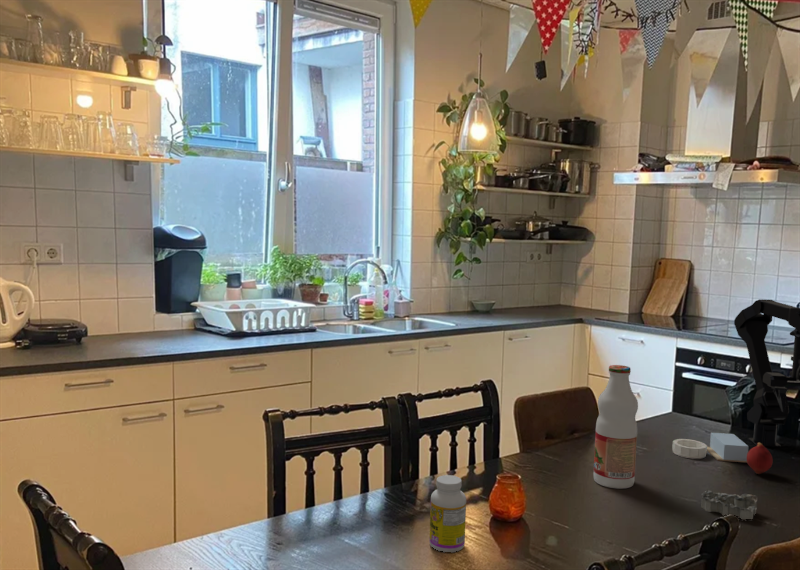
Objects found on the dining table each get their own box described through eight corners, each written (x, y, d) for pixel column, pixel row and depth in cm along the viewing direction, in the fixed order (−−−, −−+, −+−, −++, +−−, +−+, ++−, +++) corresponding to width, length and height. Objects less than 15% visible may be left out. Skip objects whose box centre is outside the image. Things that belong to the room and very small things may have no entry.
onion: (765, 470, 175) (767, 439, 175) (775, 478, 170) (778, 447, 169) (741, 469, 176) (744, 438, 175) (751, 477, 170) (753, 445, 170)
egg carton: (759, 514, 148) (760, 495, 148) (750, 525, 143) (751, 505, 142) (707, 500, 155) (708, 482, 155) (696, 509, 150) (698, 491, 149)
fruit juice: (623, 492, 158) (630, 372, 155) (585, 481, 164) (591, 366, 162) (640, 482, 164) (647, 367, 162) (604, 472, 171) (610, 361, 168)
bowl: (668, 447, 192) (669, 438, 192) (700, 449, 191) (700, 440, 191) (677, 457, 183) (678, 447, 183) (710, 459, 183) (711, 449, 182)
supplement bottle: (427, 538, 132) (429, 472, 131) (461, 537, 132) (463, 472, 131) (431, 554, 125) (433, 486, 124) (467, 554, 126) (470, 485, 125)
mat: (704, 447, 193) (704, 446, 193) (737, 449, 192) (737, 448, 192) (717, 460, 182) (717, 459, 182) (753, 462, 181) (753, 461, 181)
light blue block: (710, 446, 193) (710, 432, 192) (732, 447, 192) (733, 434, 192) (723, 459, 182) (724, 444, 182) (747, 461, 181) (748, 446, 181)
